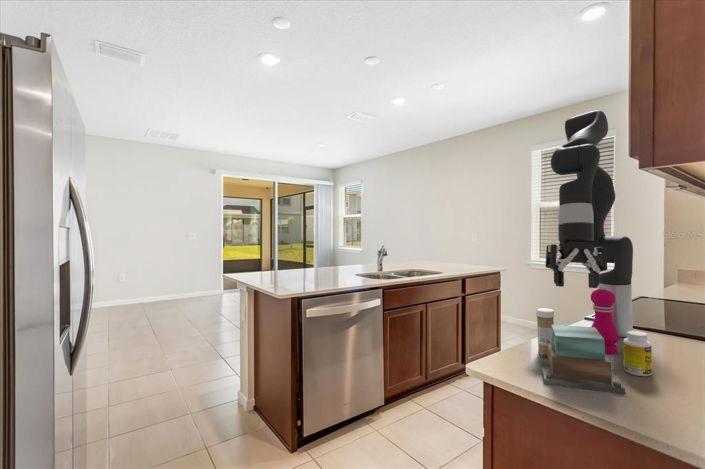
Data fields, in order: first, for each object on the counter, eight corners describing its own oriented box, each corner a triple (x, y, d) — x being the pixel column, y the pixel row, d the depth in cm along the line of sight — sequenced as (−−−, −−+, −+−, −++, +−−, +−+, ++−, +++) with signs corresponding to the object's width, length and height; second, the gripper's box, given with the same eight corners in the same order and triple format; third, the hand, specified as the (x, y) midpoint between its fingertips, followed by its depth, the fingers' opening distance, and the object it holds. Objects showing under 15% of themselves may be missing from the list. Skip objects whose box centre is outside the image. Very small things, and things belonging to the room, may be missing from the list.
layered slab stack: (539, 359, 99) (538, 320, 99) (607, 366, 92) (606, 325, 92) (544, 383, 84) (543, 338, 84) (625, 394, 78) (623, 345, 77)
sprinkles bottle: (558, 354, 101) (556, 309, 101) (550, 358, 99) (548, 312, 99) (542, 350, 105) (541, 306, 105) (534, 354, 103) (533, 309, 102)
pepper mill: (605, 356, 99) (603, 287, 98) (583, 347, 106) (581, 283, 105) (626, 353, 100) (624, 285, 100) (603, 344, 107) (601, 281, 107)
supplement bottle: (648, 379, 84) (647, 338, 84) (620, 372, 88) (619, 333, 88) (655, 372, 87) (654, 332, 87) (627, 366, 92) (626, 328, 91)
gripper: (592, 226, 91) (593, 287, 90) (539, 223, 91) (539, 285, 89) (614, 222, 84) (616, 289, 82) (557, 219, 83) (557, 286, 82)
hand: (576, 287), depth 86 cm, fingers open, 8 cm apart
